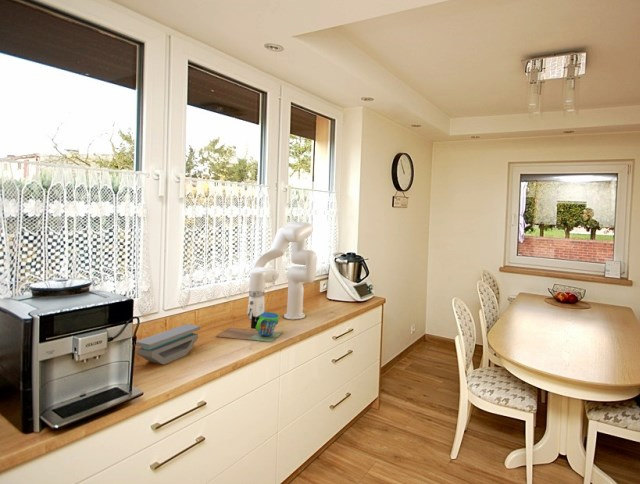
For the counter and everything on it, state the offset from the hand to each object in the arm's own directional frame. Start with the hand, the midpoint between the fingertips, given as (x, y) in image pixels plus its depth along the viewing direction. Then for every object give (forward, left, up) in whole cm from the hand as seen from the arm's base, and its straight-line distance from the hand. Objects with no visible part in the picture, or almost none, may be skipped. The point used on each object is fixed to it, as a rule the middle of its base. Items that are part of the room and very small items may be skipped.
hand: (254, 328), depth 189 cm
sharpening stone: (+33, -22, -4) cm, 40 cm away
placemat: (-1, -3, -4) cm, 5 cm away
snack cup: (-2, +5, -3) cm, 6 cm away
